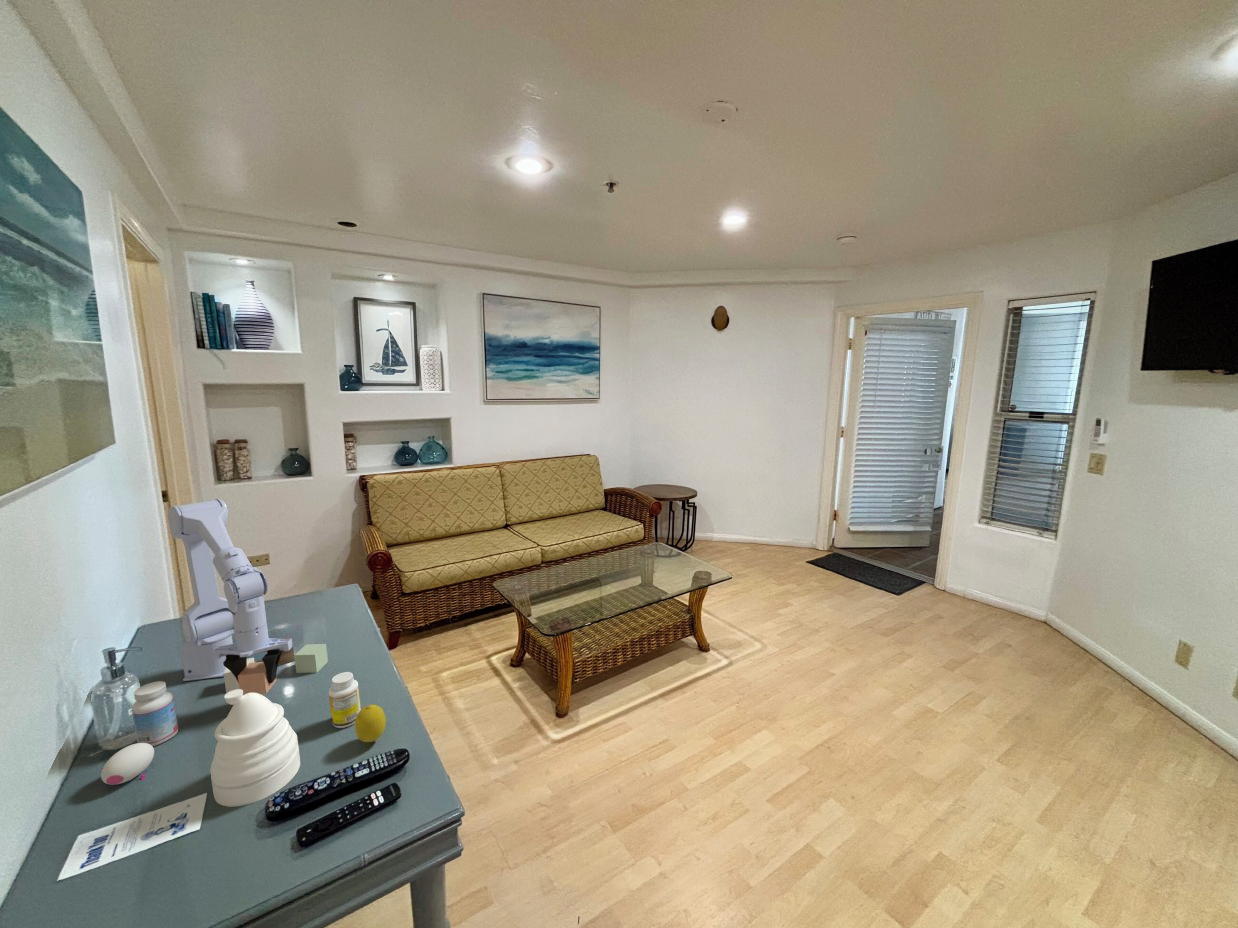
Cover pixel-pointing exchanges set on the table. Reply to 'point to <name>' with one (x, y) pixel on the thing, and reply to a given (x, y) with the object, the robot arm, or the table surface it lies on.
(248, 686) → the terracotta block
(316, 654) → the sage block
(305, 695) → the table surface
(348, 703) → the supplement bottle
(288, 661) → the walnut block
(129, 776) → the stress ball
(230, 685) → the cream block
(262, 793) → the honey pot
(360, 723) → the lemon
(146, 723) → the pill bottle
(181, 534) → the robot arm
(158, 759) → the table surface
